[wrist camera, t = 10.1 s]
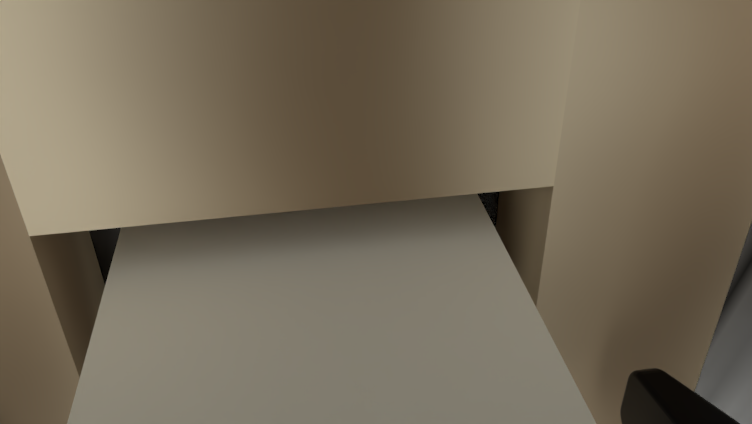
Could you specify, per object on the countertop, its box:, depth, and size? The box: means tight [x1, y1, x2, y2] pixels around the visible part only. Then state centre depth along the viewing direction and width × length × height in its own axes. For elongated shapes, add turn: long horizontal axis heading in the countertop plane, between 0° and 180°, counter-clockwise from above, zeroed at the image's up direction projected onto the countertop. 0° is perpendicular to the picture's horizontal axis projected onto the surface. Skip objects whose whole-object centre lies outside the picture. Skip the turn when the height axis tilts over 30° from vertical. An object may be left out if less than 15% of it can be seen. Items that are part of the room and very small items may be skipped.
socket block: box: [0, 0, 752, 424], centre depth 11 cm, size 12×12×2 cm
